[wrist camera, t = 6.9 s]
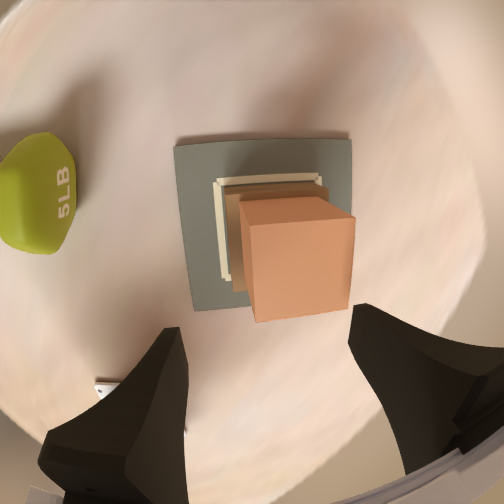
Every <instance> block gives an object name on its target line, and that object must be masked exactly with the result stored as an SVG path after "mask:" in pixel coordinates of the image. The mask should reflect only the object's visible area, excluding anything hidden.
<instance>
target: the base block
mask: <svg viewBox="0 0 504 504" xmlns="http://www.w3.org/2000/svg"><path fill="white" fill-rule="evenodd" d="M223 189H224V202H225V215H226V227H227V239H228V251H229V262H230V273H231V280H232V286H233V292H241V291H248V289H247V285H246V280H245V276H244V265H243V251H242V237H241V223H240V208H239V201H251V200H264V199H278V198H294V197H312V196H317V197H319V198H321V199H323V200H325V201H327V202H328V203H329V189H328V188H326V187H323V186H321V185H318V184H316V183H313V182H302V183H280V184H263V185H248V186H235V187H223Z"/></svg>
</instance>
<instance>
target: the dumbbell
mask: <svg viewBox="0 0 504 504" xmlns="http://www.w3.org/2000/svg"><path fill="white" fill-rule="evenodd" d="M76 201H77V198H76V167H75V162H74V159H73V156H72V155H71V153H70V152H69V150H68V149H67V148H66V147H65V145H64V144H63V143H62V142H61V141H60V139H59V138H58V137H57V136H55V135H54V134H52V133H49V132H42V133H36V134H32V135H29V136H27V137H25V138H23V139H22V140H21V141H20V142H18V143H17V144H16V145H15V146H14V147H13V148H12V150H11V151H10V152H9V153H8V154H7V155H6V157H5V158H4V159H3V161H2V162H1V164H0V237H1V239H2V240H3V241H4V242H5V243H6V244H8V245H9V246H11V247H13V248H15V249H18V250H21V251H25V252H28V253H33V254H47V255H49V254H53V253H55V252H56V251H57V250H58V249H59V248H60V246H61V245H62V243H63V241H64V239H65V237H66V235H67V232H68V230H69V228H70V225H71V223H72V221H73V218H74V215H75V211H76Z"/></svg>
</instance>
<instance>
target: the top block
mask: <svg viewBox="0 0 504 504" xmlns="http://www.w3.org/2000/svg"><path fill="white" fill-rule="evenodd" d="M239 208H240V223H241V237H242V251H243V265H244V276H245V280H246V285H247V289H248V293H249V297H250V301H251V305H252V309H253V313H254V317H255V321H256V322H264V321H272V320H279V319H287V318H294V317H300V316H307V315H314V314H320V313H326V312H332V311H338V310H344V309H348V304H349V295H350V286H351V276H352V266H353V253H354V239H355V222H356V218H355V217H353V216H352V215H350V214H348V213H346V212H345V211H343V210H341V209H339V208H338V207H336V206H334V205H332V204H330V203H328V202H327V201H325V200H323V199H321V198H319V197H317V196H312V197H294V198H278V199H264V200H251V201H239Z"/></svg>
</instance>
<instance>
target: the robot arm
mask: <svg viewBox="0 0 504 504" xmlns="http://www.w3.org/2000/svg"><path fill="white" fill-rule="evenodd" d="M348 344H349V347H350V349H351V352H352V354H353V356H354V359H355V361H356V363H357V364H358V366H359V368H360V369H361V371H362V372H363V374H364V376H365V377H366V379H367V381H368V382H369V384H370V385H371V387H372V389H373V390H374V392H375V393H376V395H377V397H378V399H379V400H380V402H381V404H382V406H383V408H384V411H385V413H386V415H387V418H388V420H389V422H390V425H391V427H392V430H393V433H394V435H395V438H396V441H397V444H398V447H399V451H400V454H401V457H402V461H403V465H404V469H405V474H406V476H404V477H402V478H400V479H397V480H395V481H393V482H391V483H388V484H386V485H383V486H381V487H378V488H376V489H373V490H370V491H368V492H365V493H362V494H359V495H357V496H353V497H350V498H347V499H344V500H341V501H337V502H334V503H331V504H472V503H473V502H474V501H475V500H476V499H477V498H479V497H480V496H481V495H483V494H484V493H485V492H486V491H488V490H489V489H490V488H491V487H492V486H494V485H495V484H496V483H497V482H498V481H500V480H501V479H502V478H503V477H504V348H498V347H484V346H476V345H469V344H465V343H461V342H456V341H452V340H449V339H445V338H442V337H439V336H436V335H434V334H431V333H428V332H426V331H423V330H421V329H419V328H417V327H414V326H412V325H410V324H408V323H406V322H404V321H402V320H400V319H398V318H396V317H394V316H392V315H390V314H388V313H386V312H384V311H382V310H380V309H378V308H376V307H374V306H372V305H370V304H367V303H364V304H358V305H354V306H353V314H352V320H351V327H350V333H349V339H348ZM188 387H189V376H188V362H187V358H186V354H185V350H184V345H183V341H182V337H181V332H180V328H179V327H172V328H164V329H163V330H162V332H161V333H160V334H159V336H158V337H157V339H156V340H155V342H154V343H153V344H152V346H151V347H150V349H149V350H148V351H147V353H146V354H145V355H144V357H143V358H142V359H141V360H140V362H139V363H138V364H137V365H136V367H135V368H134V369H133V370H132V371H131V372H130V374H129V375H128V376H127V377H126V378H125V379H124V380H123V381H122V382H121V383H107V382H95V384H94V388H95V390H96V391H97V393H98V395H99V397H100V398H101V400H100V401H99V402H98V403H97V404H95V405H94V406H93V407H91V408H90V409H88V410H87V411H85V412H84V413H82V414H80V415H79V416H77V417H75V418H74V419H72V420H70V421H68V422H66V423H64V424H62V425H60V426H58V427H56V428H54V429H52V430H49V431H48V433H47V435H46V438H45V441H44V443H43V446H42V449H41V452H40V455H39V458H38V465H39V467H40V469H41V470H42V471H43V472H44V473H45V474H46V475H47V476H48V477H49V478H50V479H51V480H52V481H54V482H55V483H56V484H57V485H58V486H59V487H61V488H62V489H63V490H64V491H65V496H64V498H63V497H61V496H59V495H56V494H54V493H51V492H48V491H45V490H42V489H39V488H36V487H34V486H30V488H29V492H28V495H27V499H26V504H189V501H188V492H187V483H186V471H185V456H184V437H186V431H185V428H184V427H185V417H186V407H187V397H188Z"/></svg>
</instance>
